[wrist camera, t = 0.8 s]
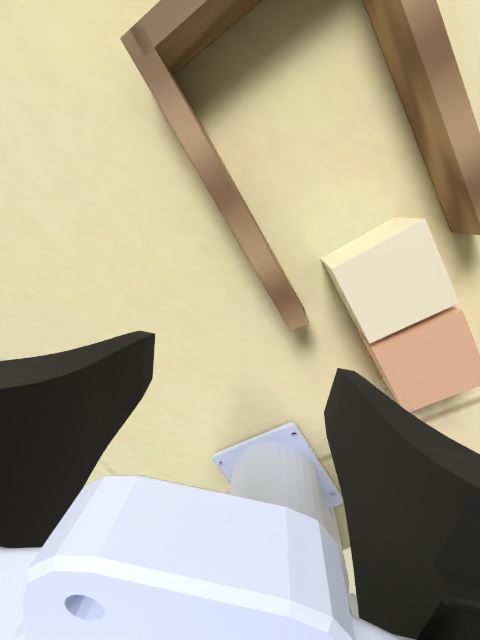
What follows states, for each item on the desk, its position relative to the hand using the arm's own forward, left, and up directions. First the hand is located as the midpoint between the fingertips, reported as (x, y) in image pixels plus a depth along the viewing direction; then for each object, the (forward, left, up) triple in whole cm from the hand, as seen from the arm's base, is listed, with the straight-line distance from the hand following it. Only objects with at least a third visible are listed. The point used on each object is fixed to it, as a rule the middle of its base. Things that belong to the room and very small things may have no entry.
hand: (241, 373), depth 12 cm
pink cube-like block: (-8, -8, -10) cm, 15 cm away
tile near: (-2, -8, -10) cm, 13 cm away
